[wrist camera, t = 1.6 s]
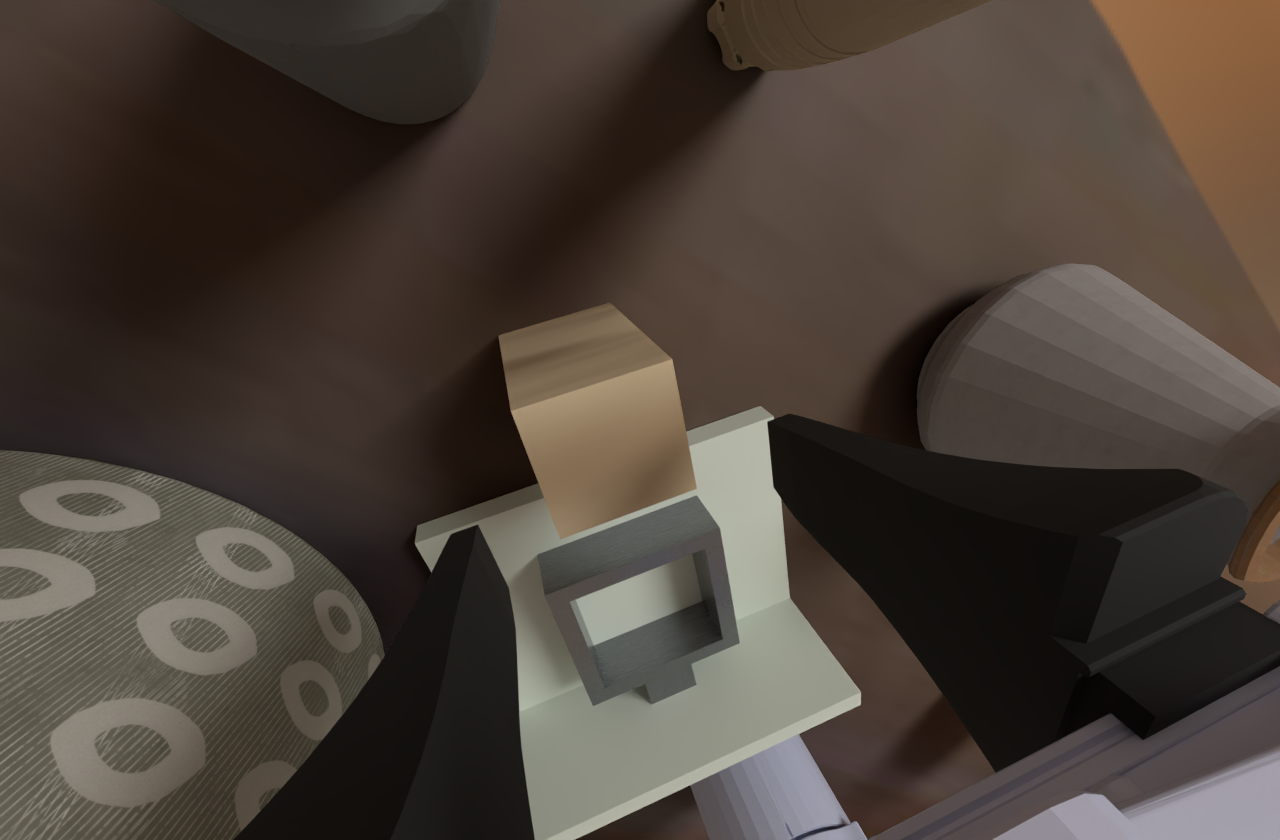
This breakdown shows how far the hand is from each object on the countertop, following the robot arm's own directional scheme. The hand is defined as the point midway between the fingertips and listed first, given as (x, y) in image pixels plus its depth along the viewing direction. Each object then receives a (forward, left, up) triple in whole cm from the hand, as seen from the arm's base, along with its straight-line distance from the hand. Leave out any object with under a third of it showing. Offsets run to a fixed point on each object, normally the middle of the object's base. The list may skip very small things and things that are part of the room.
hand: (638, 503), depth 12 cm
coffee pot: (-11, -24, -10) cm, 28 cm away
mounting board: (-11, 0, -9) cm, 14 cm away
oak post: (0, 0, -10) cm, 10 cm away
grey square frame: (-12, 0, -8) cm, 14 cm away
